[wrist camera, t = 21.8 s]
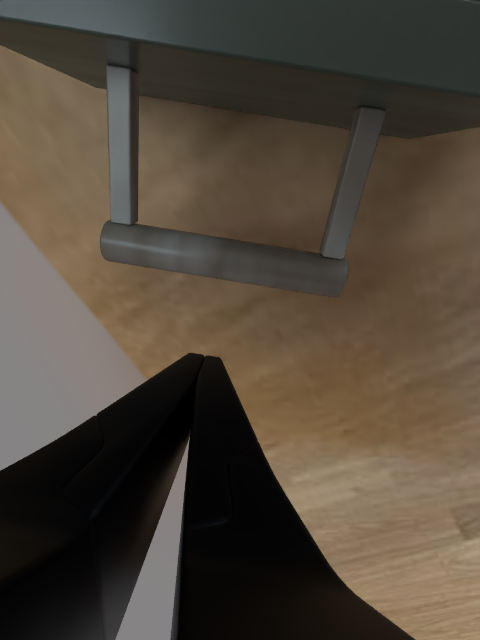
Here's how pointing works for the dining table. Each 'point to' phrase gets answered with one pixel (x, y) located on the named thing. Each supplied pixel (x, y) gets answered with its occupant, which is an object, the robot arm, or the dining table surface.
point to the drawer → (259, 98)
